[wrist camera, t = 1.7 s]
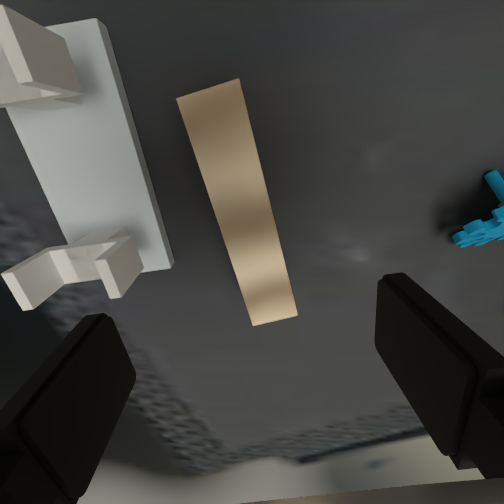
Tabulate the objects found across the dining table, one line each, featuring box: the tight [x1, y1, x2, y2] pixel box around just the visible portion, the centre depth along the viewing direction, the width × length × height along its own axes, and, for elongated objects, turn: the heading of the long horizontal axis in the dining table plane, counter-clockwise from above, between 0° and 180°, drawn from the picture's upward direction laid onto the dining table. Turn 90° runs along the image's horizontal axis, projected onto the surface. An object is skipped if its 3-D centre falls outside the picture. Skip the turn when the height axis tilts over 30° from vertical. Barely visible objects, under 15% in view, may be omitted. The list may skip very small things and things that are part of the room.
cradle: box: [0, 5, 175, 311], centre depth 20 cm, size 20×9×10 cm, turn 8°
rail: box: [176, 78, 298, 326], centre depth 23 cm, size 18×4×7 cm, turn 15°
